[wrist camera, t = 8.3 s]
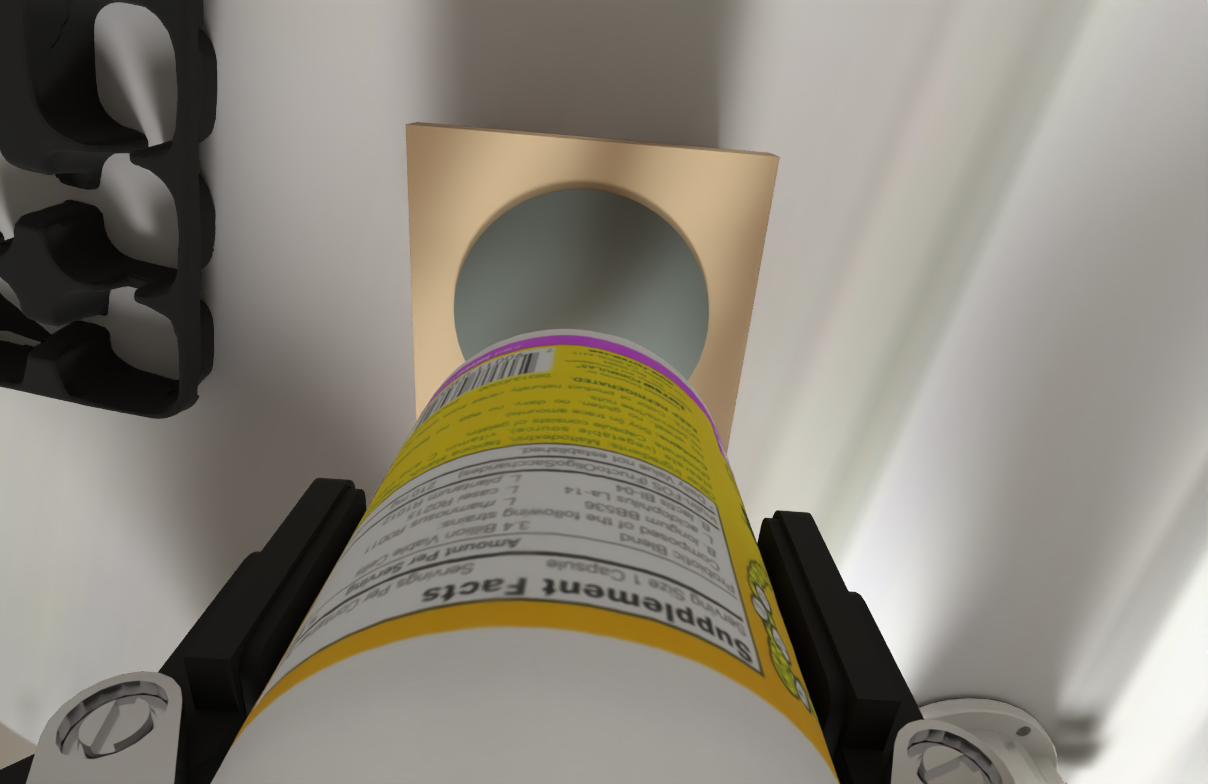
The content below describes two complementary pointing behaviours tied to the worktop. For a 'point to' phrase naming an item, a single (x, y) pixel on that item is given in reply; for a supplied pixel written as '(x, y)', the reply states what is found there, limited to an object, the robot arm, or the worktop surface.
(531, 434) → the supplement bottle
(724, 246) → the footstool
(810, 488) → the worktop surface
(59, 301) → the egg carton
